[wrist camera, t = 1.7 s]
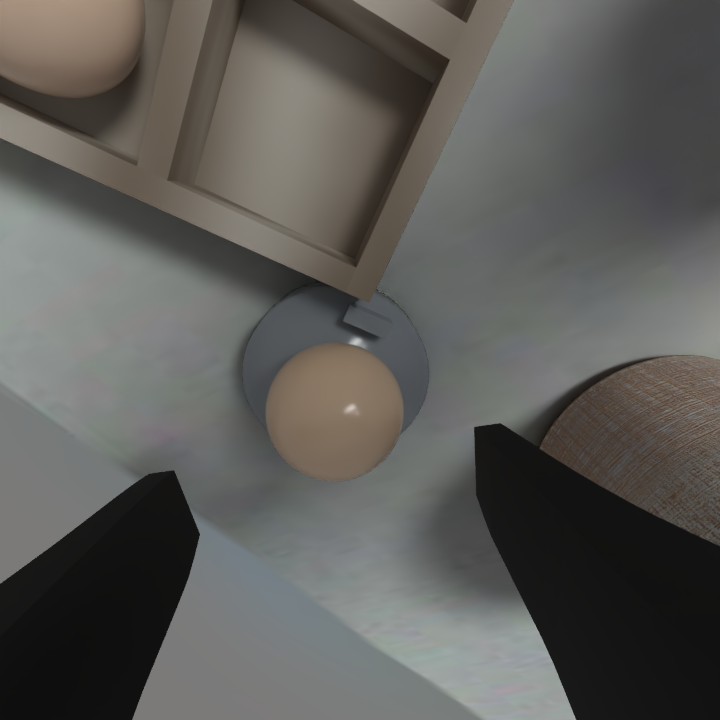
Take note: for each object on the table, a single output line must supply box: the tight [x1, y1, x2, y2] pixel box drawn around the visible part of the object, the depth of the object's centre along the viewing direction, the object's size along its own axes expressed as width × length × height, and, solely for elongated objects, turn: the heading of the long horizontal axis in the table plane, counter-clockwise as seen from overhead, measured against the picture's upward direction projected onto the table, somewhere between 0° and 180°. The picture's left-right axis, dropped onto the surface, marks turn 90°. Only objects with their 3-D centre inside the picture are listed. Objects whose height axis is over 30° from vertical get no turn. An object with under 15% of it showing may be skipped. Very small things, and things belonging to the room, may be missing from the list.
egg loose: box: [265, 342, 404, 482], centre depth 12 cm, size 4×4×4 cm
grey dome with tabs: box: [242, 282, 429, 434], centre depth 15 cm, size 7×7×2 cm
